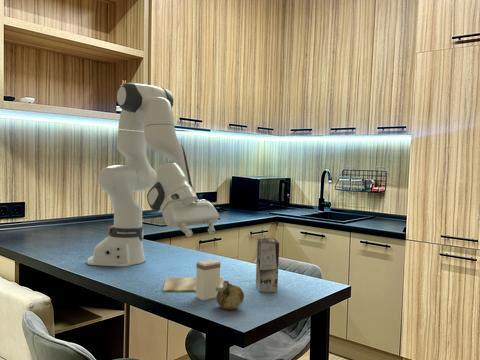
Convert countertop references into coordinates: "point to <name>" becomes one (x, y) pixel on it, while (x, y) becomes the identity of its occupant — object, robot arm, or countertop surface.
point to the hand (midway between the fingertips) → (201, 234)
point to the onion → (229, 296)
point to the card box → (207, 279)
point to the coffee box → (267, 264)
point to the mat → (182, 284)
